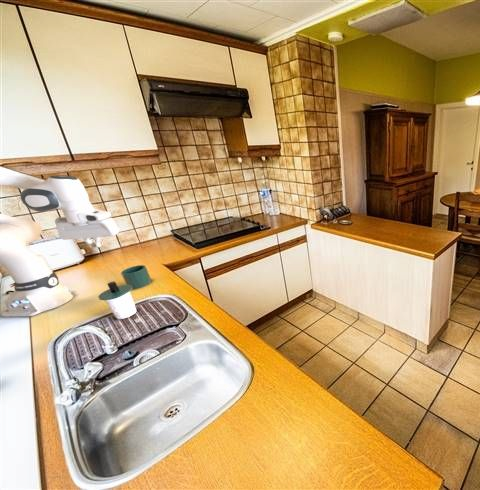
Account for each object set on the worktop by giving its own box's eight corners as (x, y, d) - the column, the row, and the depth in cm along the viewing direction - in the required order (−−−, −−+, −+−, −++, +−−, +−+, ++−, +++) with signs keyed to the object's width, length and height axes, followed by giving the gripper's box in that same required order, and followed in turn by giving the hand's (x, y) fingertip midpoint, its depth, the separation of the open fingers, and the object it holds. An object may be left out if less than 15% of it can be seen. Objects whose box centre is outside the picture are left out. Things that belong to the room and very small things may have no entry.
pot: (123, 290, 130) (116, 275, 127) (136, 280, 139) (129, 266, 135) (144, 288, 131) (137, 273, 128) (155, 278, 140) (149, 264, 136)
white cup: (124, 321, 107) (113, 300, 103) (109, 319, 109) (98, 299, 105) (143, 309, 114) (133, 289, 110) (128, 307, 116) (119, 288, 112)
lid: (92, 303, 102) (86, 291, 100) (112, 288, 112) (106, 278, 110) (121, 299, 103) (115, 288, 101) (138, 285, 113) (134, 275, 111)
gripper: (45, 219, 104) (62, 251, 109) (102, 216, 106) (116, 247, 111) (60, 215, 110) (75, 246, 115) (114, 212, 112) (126, 242, 117)
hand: (96, 246), depth 113 cm, fingers closed
